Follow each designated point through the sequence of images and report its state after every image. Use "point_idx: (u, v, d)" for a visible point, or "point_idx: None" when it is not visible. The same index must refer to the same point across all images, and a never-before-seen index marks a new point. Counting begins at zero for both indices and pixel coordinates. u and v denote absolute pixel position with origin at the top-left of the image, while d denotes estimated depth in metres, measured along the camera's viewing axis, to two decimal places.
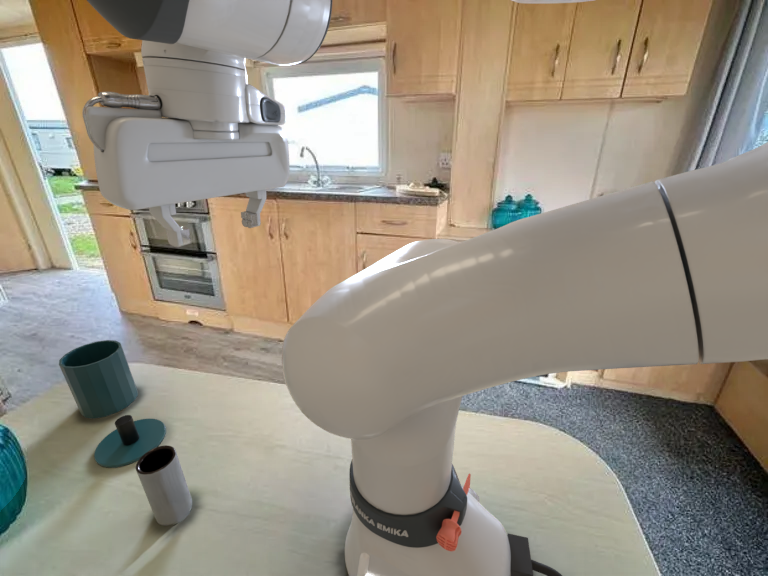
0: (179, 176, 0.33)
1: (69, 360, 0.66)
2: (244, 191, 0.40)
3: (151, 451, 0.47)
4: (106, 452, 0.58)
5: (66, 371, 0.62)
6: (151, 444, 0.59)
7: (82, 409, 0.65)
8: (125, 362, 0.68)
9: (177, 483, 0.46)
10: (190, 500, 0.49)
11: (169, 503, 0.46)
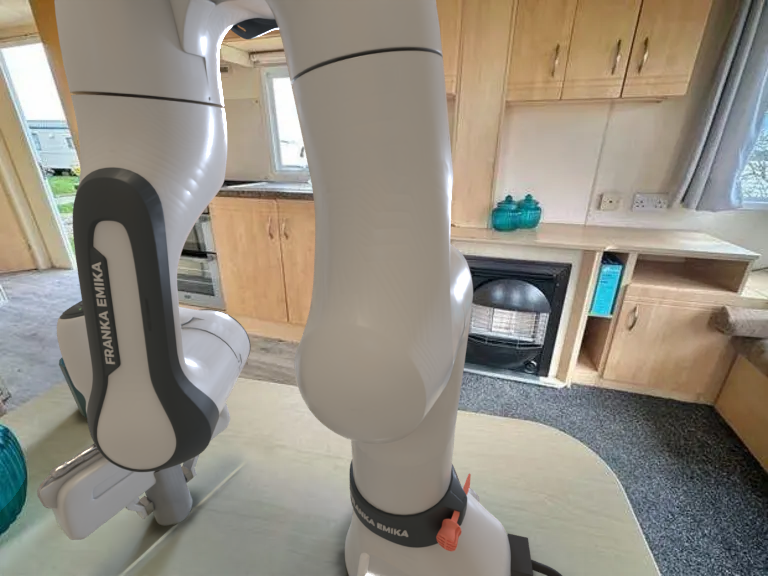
0: (123, 490, 0.41)
1: None
2: None
3: None
4: None
5: (66, 371, 0.62)
6: None
7: (82, 409, 0.65)
8: None
9: (177, 483, 0.46)
10: (190, 500, 0.49)
11: (169, 503, 0.46)
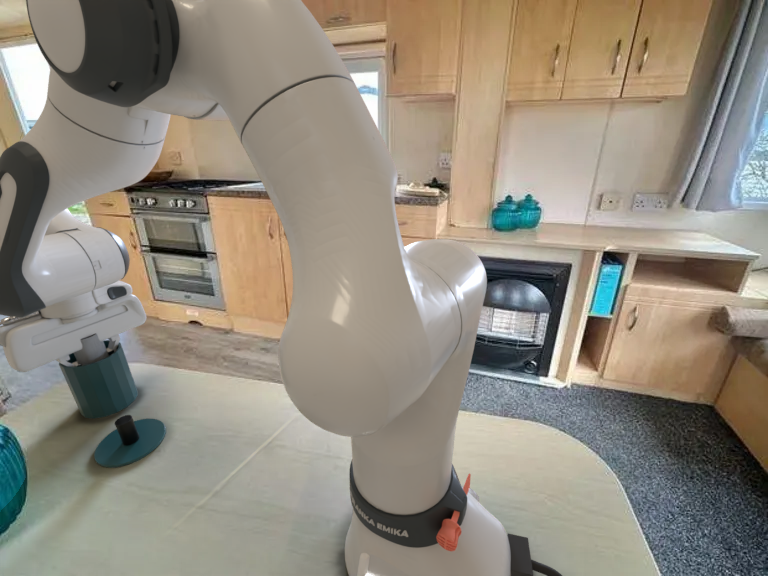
0: (55, 346, 0.59)
1: (69, 360, 0.66)
2: (108, 337, 0.66)
3: None
4: (106, 452, 0.58)
5: (66, 371, 0.62)
6: (151, 444, 0.59)
7: (82, 409, 0.65)
8: (125, 362, 0.68)
9: (99, 352, 0.65)
10: None
11: None
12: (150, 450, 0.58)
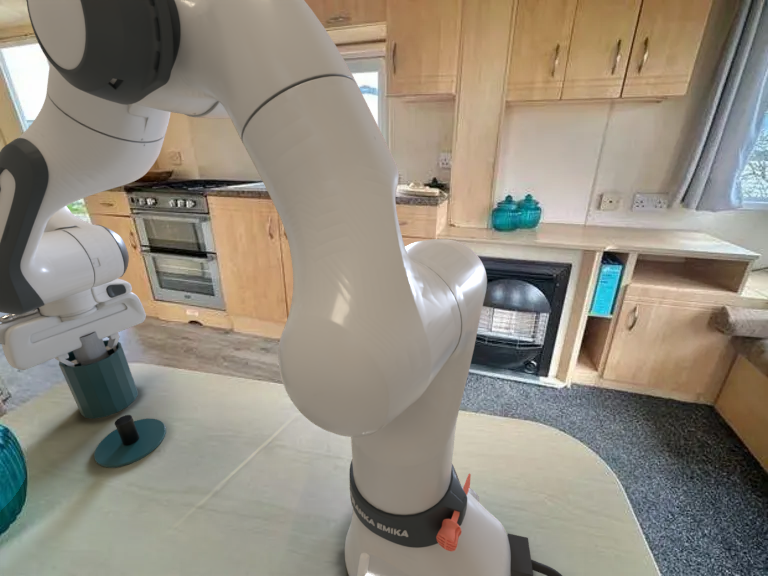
0: (54, 344, 0.59)
1: (69, 360, 0.66)
2: (107, 335, 0.66)
3: None
4: (106, 452, 0.58)
5: (66, 371, 0.62)
6: (151, 444, 0.59)
7: (82, 409, 0.65)
8: (125, 362, 0.68)
9: (98, 351, 0.64)
10: None
11: None
12: (150, 450, 0.58)
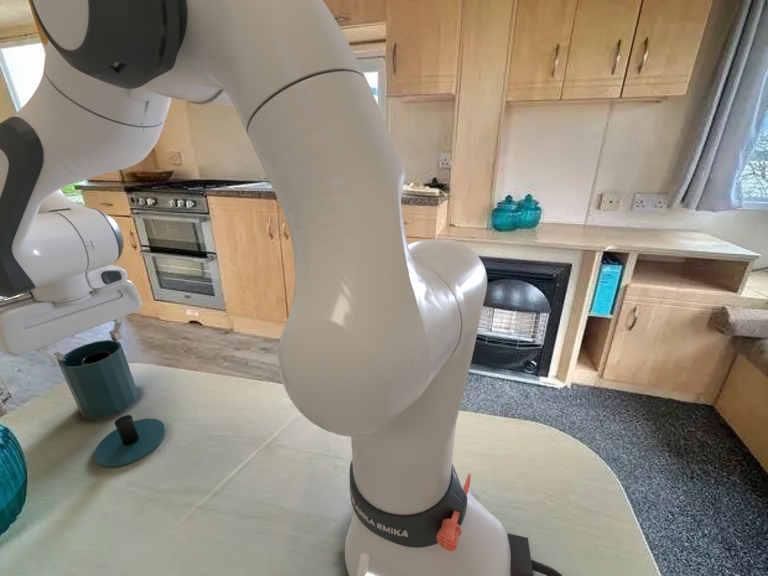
0: (47, 330, 0.58)
1: (69, 360, 0.66)
2: (102, 323, 0.65)
3: (94, 353, 0.67)
4: (106, 452, 0.58)
5: (66, 371, 0.62)
6: (151, 444, 0.59)
7: (82, 409, 0.65)
8: (125, 362, 0.68)
9: None
10: None
11: None
12: (150, 450, 0.58)
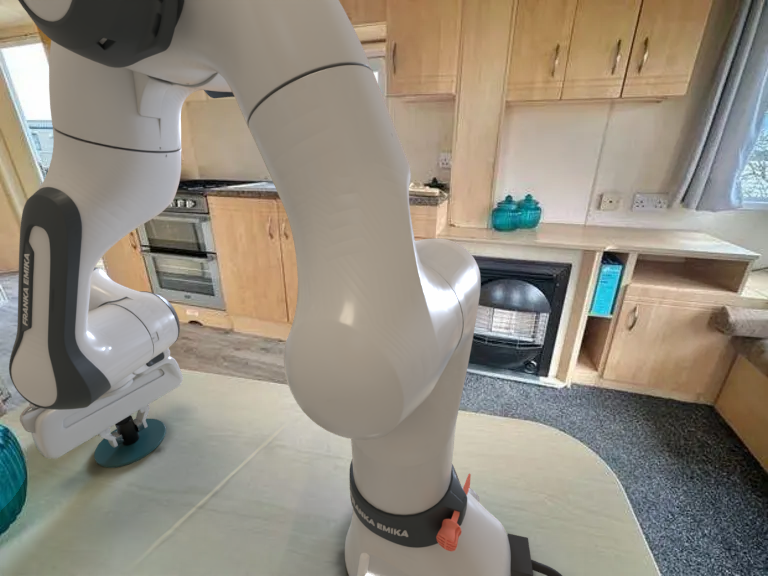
0: (88, 425, 0.52)
1: None
2: (143, 406, 0.59)
3: None
4: (106, 452, 0.58)
5: None
6: (151, 444, 0.59)
7: None
8: None
9: None
10: None
11: None
12: (150, 450, 0.58)
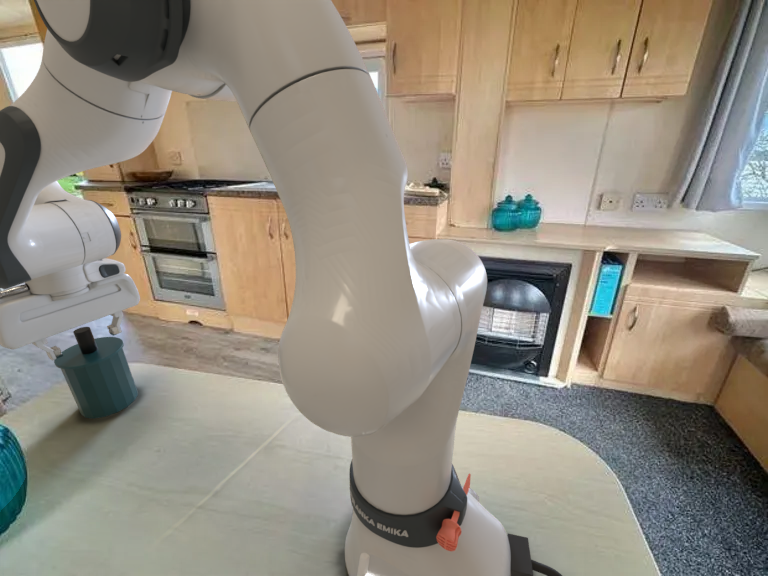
0: (44, 323, 0.57)
1: None
2: (100, 317, 0.64)
3: None
4: (65, 358, 0.63)
5: (66, 371, 0.62)
6: (108, 353, 0.64)
7: (82, 409, 0.65)
8: (125, 362, 0.68)
9: None
10: None
11: None
12: (106, 357, 0.63)
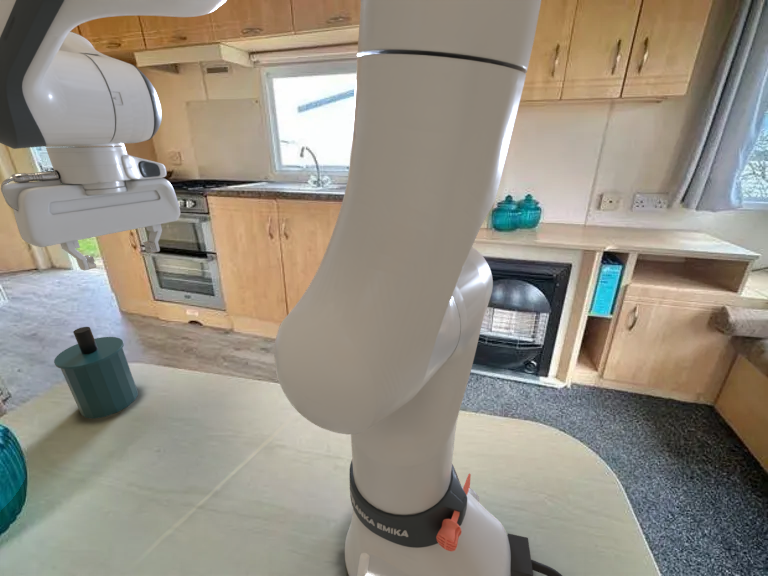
0: (77, 221, 0.48)
1: None
2: (138, 227, 0.55)
3: None
4: (65, 358, 0.63)
5: (66, 371, 0.62)
6: (108, 353, 0.64)
7: (82, 409, 0.65)
8: (125, 362, 0.68)
9: None
10: None
11: None
12: (106, 357, 0.63)
